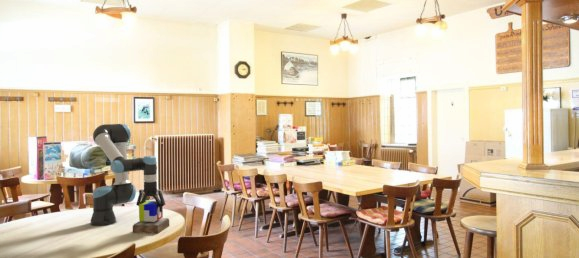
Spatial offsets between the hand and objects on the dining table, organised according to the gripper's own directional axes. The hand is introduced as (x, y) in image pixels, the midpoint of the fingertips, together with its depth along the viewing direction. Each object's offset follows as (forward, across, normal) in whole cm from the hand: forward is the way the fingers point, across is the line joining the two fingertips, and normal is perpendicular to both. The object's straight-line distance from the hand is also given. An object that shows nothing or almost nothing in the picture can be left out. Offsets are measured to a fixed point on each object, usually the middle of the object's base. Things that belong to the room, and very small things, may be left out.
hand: (151, 216), depth 247 cm
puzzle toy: (+2, 0, 0) cm, 2 cm away
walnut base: (+8, 0, 0) cm, 8 cm away
